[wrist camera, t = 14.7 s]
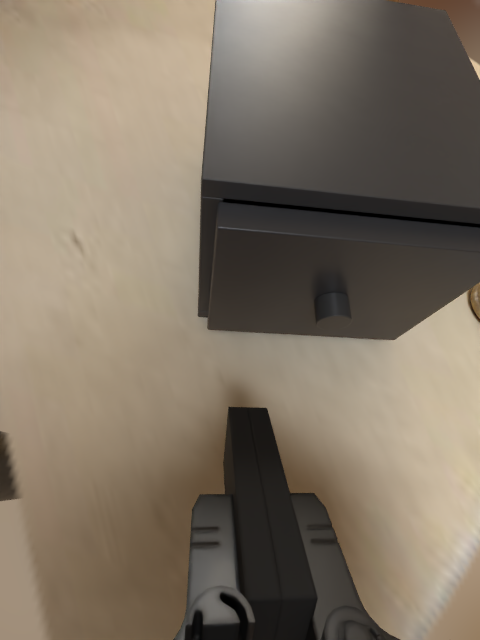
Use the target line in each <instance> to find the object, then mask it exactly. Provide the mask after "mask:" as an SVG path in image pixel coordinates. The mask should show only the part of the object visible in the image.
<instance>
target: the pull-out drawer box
mask: <svg viewBox="0 0 480 640" xmlns="http://www.w3.org/2000/svg"><path fill="white" fill-rule="evenodd" d="M461 223H462V222H454V221H444V220H434V219H424V218H414V217H404V216H394V215H384V214H374V213H364V212H354V211H344V210H334V209H324V208H314V207H304V206H294V205H284V204H274V203H264V202H254V201H244V200H234V199H225V202H219V203H218V207H217V218H216V229H215V241H214V252H213V264H212V275H211V287H210V298H209V310H208V327H207V328H208V329H211V330H229V331H246V332H264V333H281V334H298V335H316V336H333V337H351V338H368V339H385V340H395V339H396V338H398V337H399V336H401V335H402V334H404V333H405V332H407V331H408V330H410V329H411V328H413V327H414V326H416V325H417V324H419V323H420V322H422V321H423V320H424V319H426V318H427V317H429V316H430V315H432V314H433V313H435V312H436V311H438V310H439V309H441V308H442V307H444V306H445V305H447V304H448V303H450V302H451V301H453V300H454V299H456V298H457V297H459V296H460V295H462V294H463V293H465V292H466V291H467V290H469V289H470V288H472V287H473V286H475V285H476V284H478V283H479V282H480V228H478V227H468V226H459V225H460V224H461Z"/></svg>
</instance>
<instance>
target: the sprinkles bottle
mask: <svg viewBox="0 0 480 640" xmlns="http://www.w3.org/2000/svg"><path fill="white" fill-rule="evenodd" d="M471 303H472V307H473V309H474V311H475V313H476V315H477V316H478V317H479V319H480V282H479V283H478V284H476V285H475V286H474V287H473V290H472V293H471Z"/></svg>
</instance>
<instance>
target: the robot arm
mask: <svg viewBox="0 0 480 640" xmlns="http://www.w3.org/2000/svg"><path fill="white" fill-rule="evenodd" d="M223 465H224V485H225V494H205V495H199V497H198V499H197V501H196V503H195V505H194V507H193V509H192V519H191V537H190V554H189V572H188V589H187V607H186V613H185V618H184V621H183V623H182V626H181V629H180V630H179V632H178V633H177V635H176V636H175V638H174V639H173V640H400V639H398V638H396V637H394V636H391V635H389V634H388V633H387V632H385V631H384V630H383V629H381V628H380V627H379V626H378V625H377V624H376V622H375V621H374V620H373V619H372V618H371V617H370V616H369V615H368V613H367V612H366V610H365V609H364V607H363V605H362V603H361V601H360V599H359V596H358V593H357V590H356V588H355V585H354V582H353V580H352V577H351V574H350V572H349V569H348V566H347V564H346V561H345V558H344V556H343V553H342V550H341V548H340V545H339V543H338V542H337V537H336V534H335V531H334V529H333V528H332V523H331V521H330V518H329V515H328V513H327V510H326V507H325V506H324V505H323V504H322V503H321V501H320V500H319V499H318V498H317V496H316V495H315V494H314V493H290V492H289V488H288V484H287V481H286V477H285V473H284V470H283V466H282V462H281V458H280V455H279V451H278V447H277V444H276V440H275V436H274V433H273V429H272V425H271V421H270V418H269V414H268V410H267V408H246V407H228V418H227V429H226V440H225V451H224V462H223Z"/></svg>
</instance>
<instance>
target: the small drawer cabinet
mask: <svg viewBox="0 0 480 640" xmlns="http://www.w3.org/2000/svg"><path fill="white" fill-rule="evenodd" d="M225 199H234V200H244V201H254V202H264V203H274V204H284V205H294V206H304V207H314V208H324V209H334V210H344V211H354V212H364V213H374V214H384V215H394V216H404V217H414V218H424V219H434V220H444V221H454V222H462V223H461V224H460V225H459V226H468V227H478V228H480V80H479V78H478V76H477V74H476V71H475V69H474V67H473V65H472V63H471V61H470V59H469V57H468V55H467V53H466V51H465V49H464V47H463V45H462V43H461V41H460V39H459V37H458V35H457V33H456V30H455V28H454V27H453V24H452V22H451V20H450V18H449V16H448V14H447V12H446V11H445V10H439V9H433V8H428V7H422V6H415V5H410V4H405V3H399V2H393V1H387V0H216V2H215V15H214V27H213V40H212V52H211V65H210V77H209V90H208V102H207V115H206V127H205V140H204V152H203V165H202V177H201V215H200V256H199V297H198V317H208V310H209V298H210V287H211V275H212V264H213V252H214V241H215V229H216V218H217V207H218V203H219V202H225Z"/></svg>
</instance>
